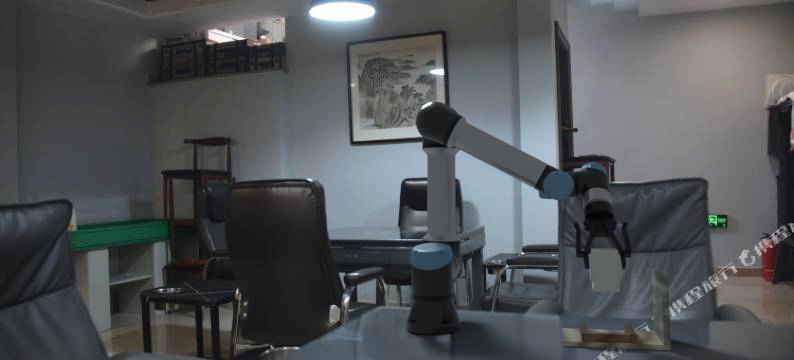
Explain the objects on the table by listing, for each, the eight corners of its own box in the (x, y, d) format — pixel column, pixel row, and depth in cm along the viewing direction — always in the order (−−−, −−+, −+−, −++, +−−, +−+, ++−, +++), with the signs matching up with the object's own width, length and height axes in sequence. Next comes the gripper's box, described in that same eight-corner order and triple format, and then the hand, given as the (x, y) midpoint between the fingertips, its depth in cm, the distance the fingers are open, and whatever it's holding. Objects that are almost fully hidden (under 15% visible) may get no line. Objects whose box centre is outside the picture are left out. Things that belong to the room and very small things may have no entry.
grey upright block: (593, 291, 141) (592, 251, 141) (592, 287, 147) (590, 248, 147) (619, 291, 140) (618, 250, 140) (616, 287, 145) (615, 248, 146)
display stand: (564, 346, 140) (561, 275, 140) (562, 332, 152) (560, 267, 152) (671, 350, 133) (668, 276, 134) (660, 336, 146) (657, 268, 146)
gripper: (634, 217, 156) (647, 287, 140) (561, 218, 161) (566, 287, 145) (636, 198, 151) (649, 269, 135) (561, 200, 156) (566, 269, 140)
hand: (606, 278), depth 140 cm, fingers closed on grey upright block, 6 cm apart
